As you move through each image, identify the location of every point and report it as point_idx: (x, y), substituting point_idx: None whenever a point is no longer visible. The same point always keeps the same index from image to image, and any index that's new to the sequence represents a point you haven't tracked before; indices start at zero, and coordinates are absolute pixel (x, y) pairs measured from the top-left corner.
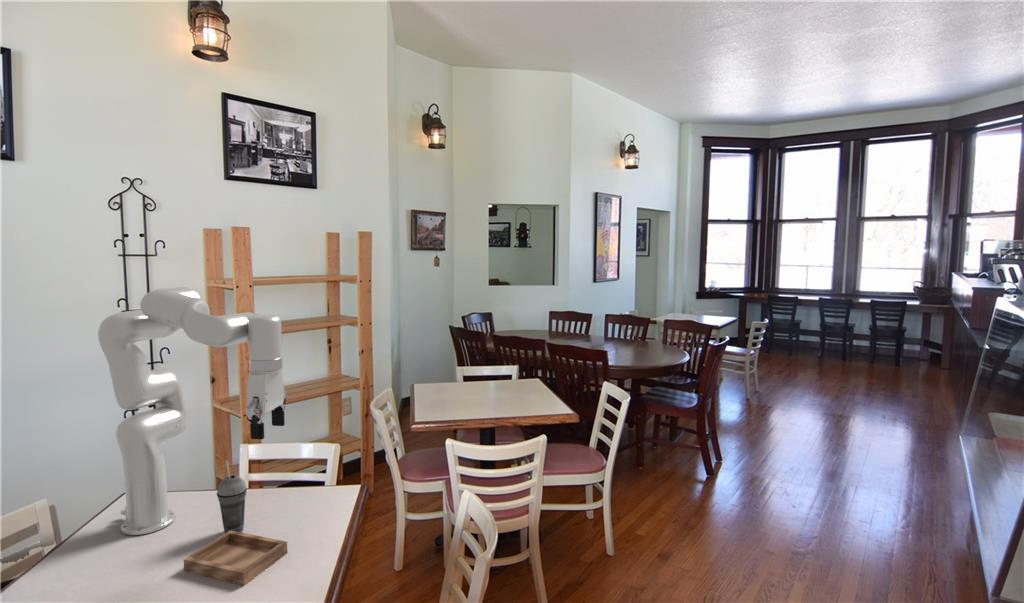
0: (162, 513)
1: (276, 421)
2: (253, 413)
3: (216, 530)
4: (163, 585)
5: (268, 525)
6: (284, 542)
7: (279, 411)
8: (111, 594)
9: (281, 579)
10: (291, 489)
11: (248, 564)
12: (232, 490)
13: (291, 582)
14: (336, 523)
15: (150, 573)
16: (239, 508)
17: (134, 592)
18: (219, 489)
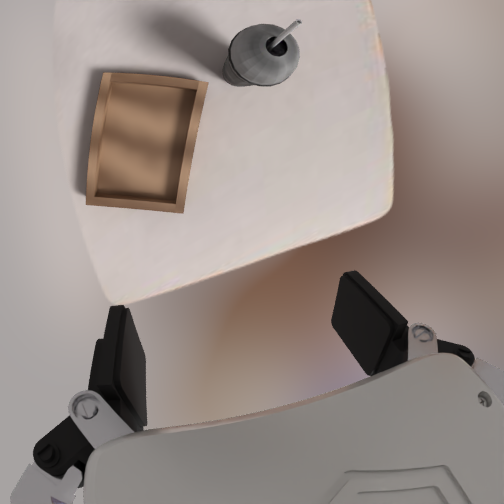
0: None
1: (349, 310)
2: (66, 495)
3: None
4: (73, 77)
5: (266, 121)
6: (179, 210)
7: (378, 363)
8: (53, 31)
9: (117, 241)
10: (384, 107)
11: (128, 174)
12: (241, 67)
13: (116, 258)
14: (280, 235)
15: (101, 32)
16: (242, 82)
17: (56, 54)
18: (241, 35)
